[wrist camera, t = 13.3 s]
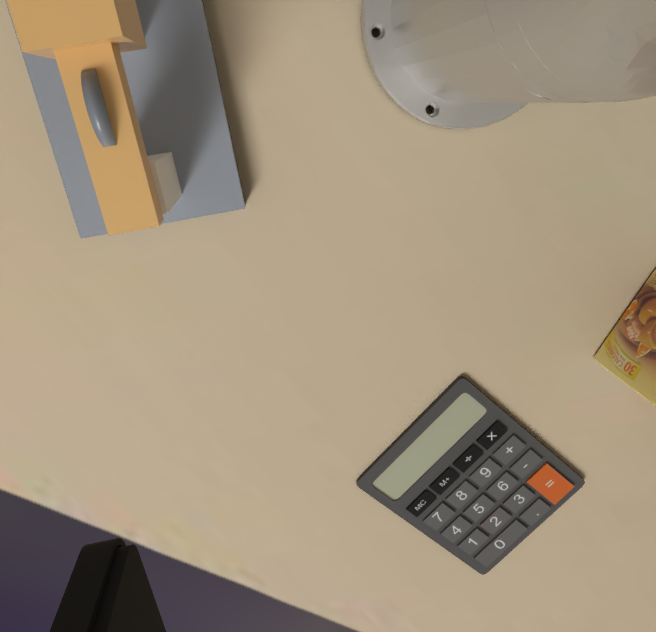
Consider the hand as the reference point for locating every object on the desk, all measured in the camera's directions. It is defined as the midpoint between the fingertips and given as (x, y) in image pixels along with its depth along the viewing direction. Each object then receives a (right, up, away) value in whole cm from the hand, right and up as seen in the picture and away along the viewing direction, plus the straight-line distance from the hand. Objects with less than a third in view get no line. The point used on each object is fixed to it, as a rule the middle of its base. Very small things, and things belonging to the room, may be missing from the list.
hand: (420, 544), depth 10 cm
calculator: (+10, -9, +38) cm, 40 cm away
